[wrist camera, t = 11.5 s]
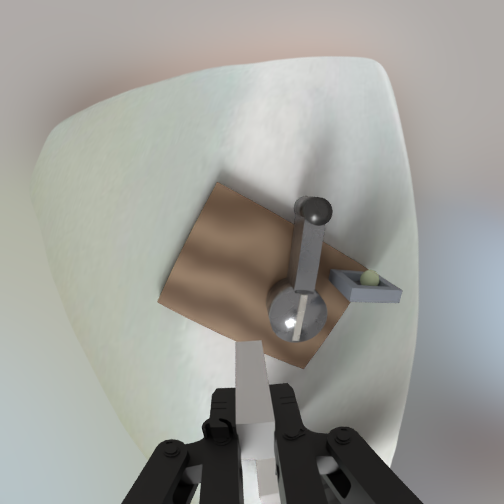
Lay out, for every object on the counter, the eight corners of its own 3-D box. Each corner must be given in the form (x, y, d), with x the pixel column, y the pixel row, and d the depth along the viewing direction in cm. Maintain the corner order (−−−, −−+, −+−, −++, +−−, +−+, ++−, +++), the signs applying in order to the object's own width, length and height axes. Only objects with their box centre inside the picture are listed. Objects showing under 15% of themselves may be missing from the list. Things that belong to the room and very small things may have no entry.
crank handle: (311, 325, 38) (323, 347, 32) (262, 323, 37) (267, 345, 32) (333, 200, 34) (350, 202, 29) (279, 192, 34) (288, 192, 28)
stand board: (301, 363, 42) (303, 370, 40) (159, 297, 38) (156, 302, 36) (365, 267, 39) (370, 270, 37) (218, 182, 35) (217, 181, 33)
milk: (293, 417, 44) (318, 516, 23) (262, 427, 45) (275, 526, 23) (283, 397, 43) (308, 504, 22) (250, 408, 43) (260, 515, 22)
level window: (372, 283, 37) (399, 302, 30) (328, 280, 37) (349, 301, 29) (376, 265, 37) (404, 281, 29) (332, 260, 36) (354, 278, 29)
